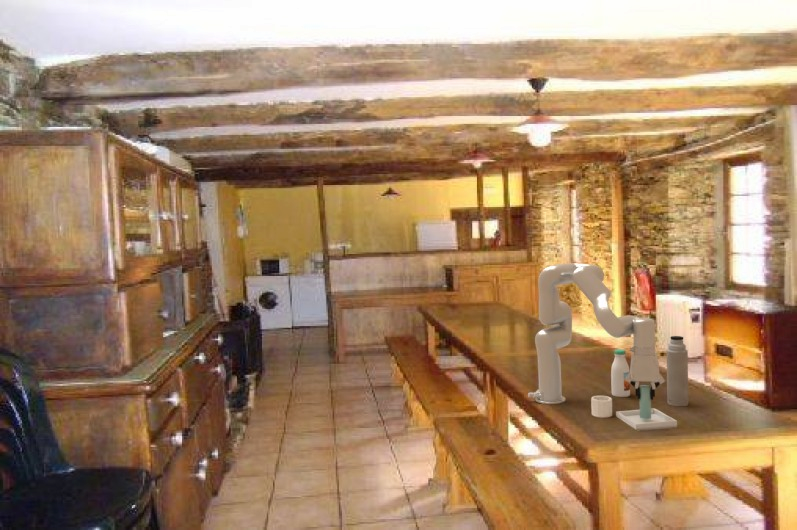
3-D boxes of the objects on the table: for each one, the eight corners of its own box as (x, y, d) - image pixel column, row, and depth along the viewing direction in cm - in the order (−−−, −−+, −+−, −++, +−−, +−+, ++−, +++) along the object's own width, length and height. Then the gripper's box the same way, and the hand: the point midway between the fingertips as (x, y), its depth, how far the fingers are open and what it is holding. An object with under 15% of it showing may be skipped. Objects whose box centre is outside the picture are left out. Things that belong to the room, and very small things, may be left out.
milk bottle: (618, 398, 277) (617, 352, 275) (608, 393, 284) (606, 349, 283) (633, 396, 279) (633, 350, 277) (623, 391, 286) (622, 347, 285)
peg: (643, 419, 241) (642, 388, 241) (637, 416, 245) (637, 385, 244) (653, 418, 242) (652, 387, 241) (647, 415, 246) (647, 384, 245)
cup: (596, 419, 250) (596, 401, 249) (588, 413, 258) (588, 396, 257) (615, 417, 251) (615, 400, 250) (607, 412, 259) (606, 394, 258)
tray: (636, 431, 235) (635, 424, 235) (616, 417, 251) (616, 411, 251) (677, 427, 237) (677, 420, 237) (654, 414, 253) (654, 408, 252)
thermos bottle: (664, 401, 269) (662, 335, 267) (682, 400, 269) (681, 334, 267) (672, 406, 261) (671, 338, 259) (692, 405, 261) (691, 337, 259)
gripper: (620, 352, 241) (621, 400, 242) (669, 353, 236) (670, 402, 237) (620, 348, 248) (621, 394, 249) (667, 349, 243) (668, 396, 244)
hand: (645, 398), depth 243 cm, fingers closed on peg, 4 cm apart
